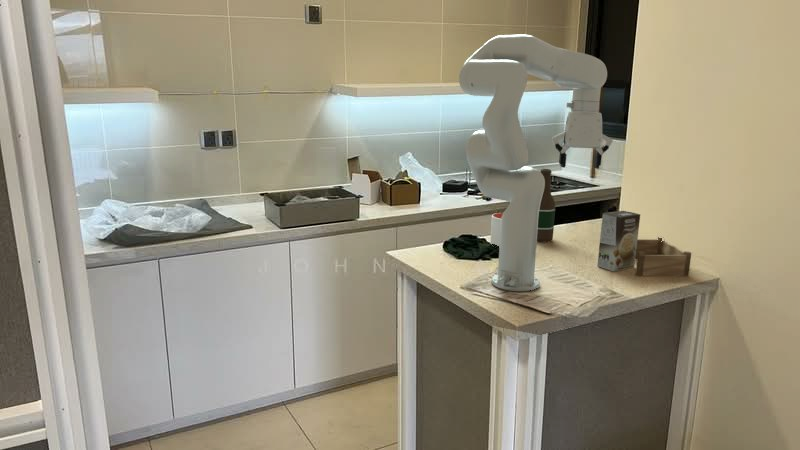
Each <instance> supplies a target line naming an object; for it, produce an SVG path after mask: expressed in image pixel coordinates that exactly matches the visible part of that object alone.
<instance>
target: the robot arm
mask: <svg viewBox="0 0 800 450" xmlns="http://www.w3.org/2000/svg"><path fill="white" fill-rule="evenodd" d="M528 75H531V76H533V77H537V78H538V79H541V80H544V81H552V82H553V83H554V84H555V85H556V86H557V87H559V88H561V89H567V90H568V89H569V90H570V89H571V90H572V99H571V102H566V108H569V109H570V110H571V111H568V114H567V117H566V121H565V124H564V125H565V126H564V131H563V132H561V133H558V134H556V135H554V136H552V137H551V141H552V143H553V146H554V148H555V149H556V150H557V151H558V153H559V159H558V164H559V166H560V167H561V168H566V167H567V166H566V165H567V153H566V152H567V151H568V150H569V149H570V148H574V149H575V148H577V149H578V148H579V149H593V150H594V151H595V153H594V154H593V155H594V156H593V166H592V167H593V168H595V169H597V170H598V169H599V168H600V166H601V165H602V157H603V155H604V154H605V152H606V151H608V150H609V148H610V147H611V145H612V143H613V138H611V137H610V136H607V135H605V134H604V133H603V116H602V112H599V111H600V98H601V90H602V87H603V86H604V85H605V83H606V82H607V78H608V70H607V67H606V64H605V63H604V62H603V61H602V60H601V59H600V58H597V57H596V56H593V55H590V54H587V53H583V52H578V51H574V50H570V49H566V48H561V47H557V46H555V45H552V44H550V43H548V42H546V41H544V40H542V39H541V38H538V37H536V36H534V35H530V34H504V35H503V34H500V35H496V36H494V37H492V38H491V39H489V40H488V41H486V42H485V43H484V44H483V45H482V46H481V47H480V48H478V49H477V50H476V51H475V52H474V53H473V54H472V55H470V57H468V58H467V60H465V62H464V63H463V64H462V67H461V69H460V70H459V74H458V83H459V86H460V88H461V90H462V91H463V93H465V94H468V95H470V96H474V97H475V96H476V97H478V96H479V97H493V98H492V99H491V101H490V103H489V105H488V107H487V108H486V110H485V111H484V114H483V116H482V127H483V129H479V130H476V131H473V133H471V135H470V136H469V138H468V139H467V142H466V145H465V146H466V147H465V153H466V156H465V157H466V159H467V163H468V166H469V168H470V170H471V173H472V175H473V178H474V179H475V182H476V185H477V187H478V189H479V191H480V193H481V194H482V195H483V196H485V197H487V198H491V199H494V200H500V201H505V202H509V204H508V205H507V208H506V209H505V210H504V211H503V212H502V213H503V215H502V218H501V228H500V246H499V248H498V251H499V252H498V265H497V267H498V268H497V274H495V275H493V276H492V277H491V284H492V285H493V286H494V287H496V288H498V289H501V290H504V291H511V292H530V290H531V291H534V289H535V290H537V289H538V288H540V286H539V285H541V282H540V279H538V278H537V277H535V273H536V256H537V243H538V242H537V230H538V216H539V209H540V203H541V199H542V195H543V192H544V187H545V179H544V176H543V175H542V173H541V172H540V171H541V170H539V169H537V168H535V167H531V166H529V165H528V166H527V164H528V161H529V150H528V146H527V142H526V139H525V136H524V133H523V130H522V127H521V123H520V121H519V113H518V112H519V107H520V104H521V101H522V98H523V96H524V92H525V90H526V86H527V85H528ZM560 139H562V140H563V141H562V143H563V144H562V146H561V145H560V143H559V140H560ZM602 141H605V143H604V145H602ZM536 288H537V289H536Z"/></svg>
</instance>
